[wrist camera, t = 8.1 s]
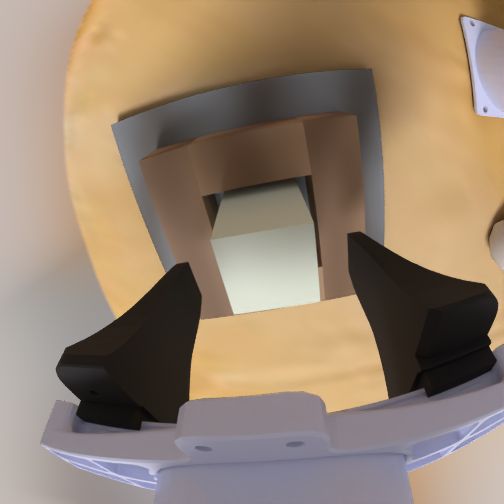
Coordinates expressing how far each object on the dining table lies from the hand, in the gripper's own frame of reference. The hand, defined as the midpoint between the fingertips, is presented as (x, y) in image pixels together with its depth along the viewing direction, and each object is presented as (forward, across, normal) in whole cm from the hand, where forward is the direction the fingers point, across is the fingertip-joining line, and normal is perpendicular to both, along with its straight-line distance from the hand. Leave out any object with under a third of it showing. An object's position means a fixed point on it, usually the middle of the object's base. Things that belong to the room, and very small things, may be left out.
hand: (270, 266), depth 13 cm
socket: (+7, 0, 0) cm, 7 cm away
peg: (+6, 0, 0) cm, 6 cm away
